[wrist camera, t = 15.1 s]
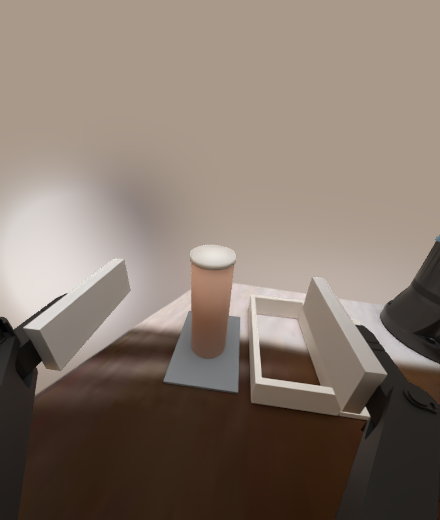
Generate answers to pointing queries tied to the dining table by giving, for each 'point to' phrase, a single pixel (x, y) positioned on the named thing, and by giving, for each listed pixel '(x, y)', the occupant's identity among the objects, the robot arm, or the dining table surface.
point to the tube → (210, 298)
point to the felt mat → (206, 362)
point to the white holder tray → (285, 391)
